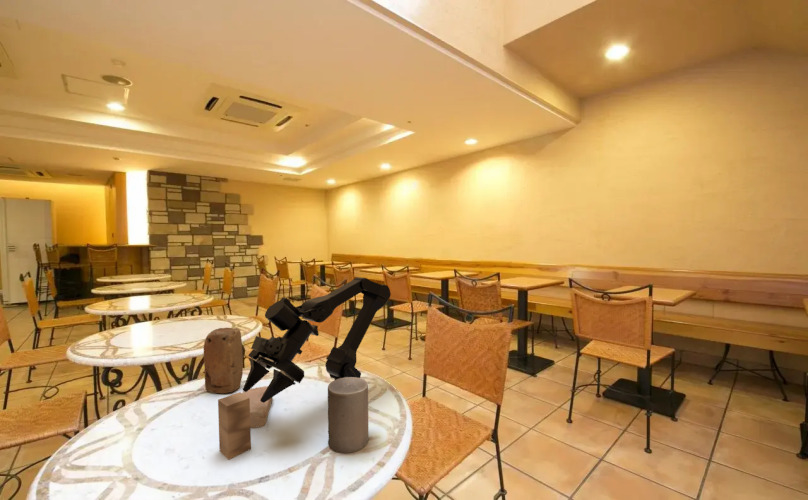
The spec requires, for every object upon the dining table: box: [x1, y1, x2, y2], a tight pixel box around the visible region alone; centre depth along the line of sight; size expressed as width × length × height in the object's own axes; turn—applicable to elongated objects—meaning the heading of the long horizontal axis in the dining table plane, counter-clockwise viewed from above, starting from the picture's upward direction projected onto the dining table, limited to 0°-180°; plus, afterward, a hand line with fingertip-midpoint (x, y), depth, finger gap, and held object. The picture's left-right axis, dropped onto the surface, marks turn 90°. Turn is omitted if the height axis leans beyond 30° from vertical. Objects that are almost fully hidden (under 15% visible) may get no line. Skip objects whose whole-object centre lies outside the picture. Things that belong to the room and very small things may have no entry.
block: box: [203, 327, 244, 394], centre depth 111 cm, size 11×8×20 cm
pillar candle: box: [327, 377, 369, 454], centre depth 80 cm, size 10×10×15 cm
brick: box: [241, 385, 273, 429], centre depth 95 cm, size 17×8×5 cm, turn 15°
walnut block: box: [217, 391, 252, 460], centre depth 78 cm, size 5×5×12 cm
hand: (252, 396), depth 81 cm, fingers open, 9 cm apart
